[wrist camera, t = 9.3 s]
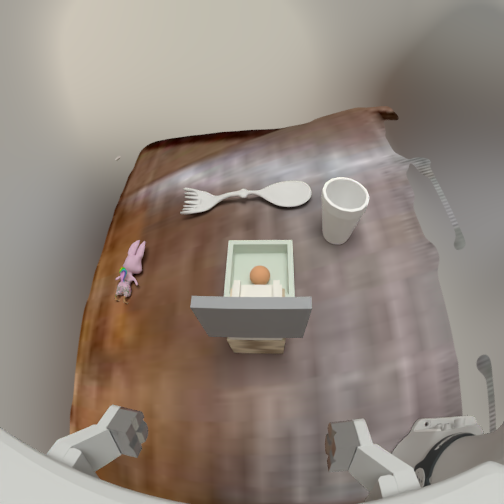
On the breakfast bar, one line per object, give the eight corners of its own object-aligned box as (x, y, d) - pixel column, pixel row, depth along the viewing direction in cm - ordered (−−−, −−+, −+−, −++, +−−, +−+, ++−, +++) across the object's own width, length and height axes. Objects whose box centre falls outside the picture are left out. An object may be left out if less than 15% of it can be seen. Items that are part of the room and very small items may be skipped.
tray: (291, 250, 62) (292, 240, 58) (293, 306, 55) (294, 298, 51) (231, 251, 63) (228, 240, 59) (226, 306, 55) (223, 298, 52)
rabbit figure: (136, 307, 58) (156, 245, 64) (123, 300, 52) (145, 233, 58) (114, 300, 59) (134, 241, 65) (100, 293, 54) (123, 230, 59)
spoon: (185, 195, 73) (182, 186, 70) (306, 184, 73) (307, 174, 70) (182, 221, 68) (179, 212, 66) (313, 209, 68) (315, 199, 65)
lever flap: (301, 339, 42) (311, 308, 31) (210, 338, 43) (190, 307, 32) (299, 287, 47) (307, 244, 37) (215, 287, 48) (200, 244, 38)
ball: (270, 261, 56) (270, 273, 53) (270, 277, 58) (270, 290, 55) (249, 261, 57) (248, 273, 53) (250, 277, 59) (249, 290, 55)
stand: (282, 308, 55) (284, 288, 47) (283, 353, 50) (285, 340, 42) (236, 308, 55) (230, 288, 48) (234, 352, 50) (226, 340, 43)
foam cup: (358, 249, 61) (374, 211, 50) (319, 251, 61) (328, 212, 50) (350, 216, 66) (361, 177, 55) (313, 217, 66) (319, 177, 55)
